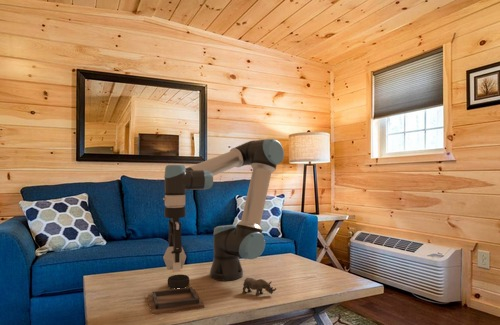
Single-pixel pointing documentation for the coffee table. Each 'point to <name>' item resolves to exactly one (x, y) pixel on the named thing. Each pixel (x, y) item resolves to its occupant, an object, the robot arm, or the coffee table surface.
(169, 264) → the die
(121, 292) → the coffee table surface
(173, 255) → the robot arm
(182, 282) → the smart speaker
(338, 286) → the coffee table surface
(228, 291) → the coffee table surface
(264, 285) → the rhino figurine
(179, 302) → the board
